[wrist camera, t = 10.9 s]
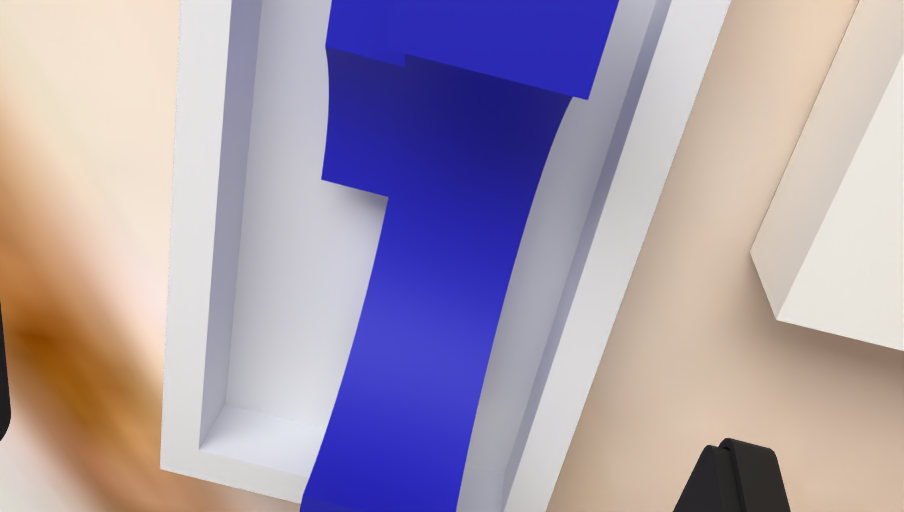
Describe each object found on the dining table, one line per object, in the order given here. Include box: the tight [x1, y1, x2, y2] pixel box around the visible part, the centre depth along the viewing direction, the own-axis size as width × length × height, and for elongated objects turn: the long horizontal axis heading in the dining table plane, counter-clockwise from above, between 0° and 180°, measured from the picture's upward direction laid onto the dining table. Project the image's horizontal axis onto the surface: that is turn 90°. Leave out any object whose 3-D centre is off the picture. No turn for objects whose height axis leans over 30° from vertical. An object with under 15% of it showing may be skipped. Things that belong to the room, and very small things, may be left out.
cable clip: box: [300, 0, 619, 512], centre depth 17 cm, size 12×4×6 cm, turn 167°
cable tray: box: [160, 0, 731, 512], centre depth 19 cm, size 10×18×2 cm, turn 168°
